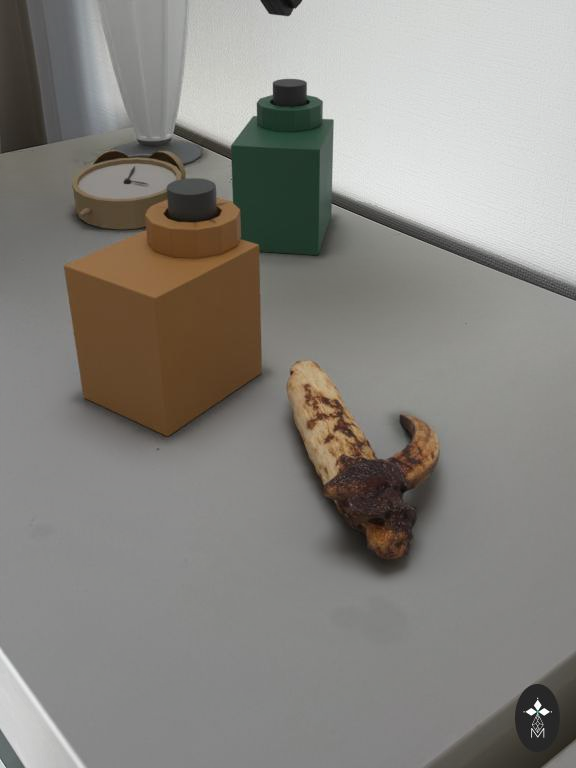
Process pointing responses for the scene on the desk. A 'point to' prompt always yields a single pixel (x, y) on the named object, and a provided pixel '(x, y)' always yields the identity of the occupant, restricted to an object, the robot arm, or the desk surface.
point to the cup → (149, 69)
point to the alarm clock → (124, 187)
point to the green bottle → (284, 177)
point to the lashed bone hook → (360, 462)
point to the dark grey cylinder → (192, 200)
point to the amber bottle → (168, 318)
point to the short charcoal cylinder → (289, 92)
